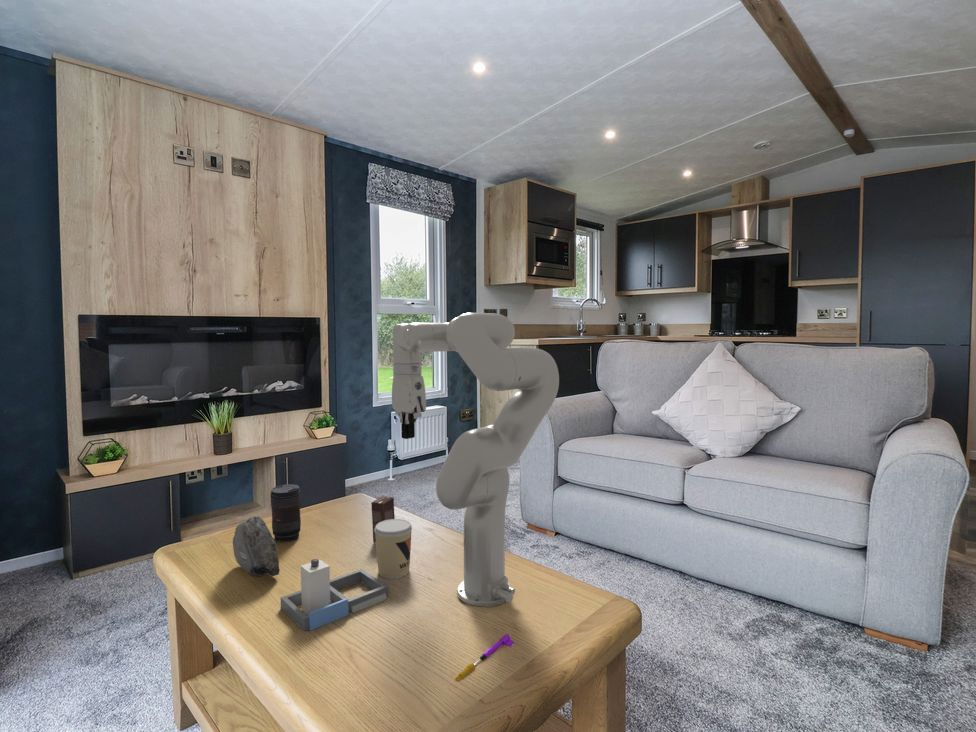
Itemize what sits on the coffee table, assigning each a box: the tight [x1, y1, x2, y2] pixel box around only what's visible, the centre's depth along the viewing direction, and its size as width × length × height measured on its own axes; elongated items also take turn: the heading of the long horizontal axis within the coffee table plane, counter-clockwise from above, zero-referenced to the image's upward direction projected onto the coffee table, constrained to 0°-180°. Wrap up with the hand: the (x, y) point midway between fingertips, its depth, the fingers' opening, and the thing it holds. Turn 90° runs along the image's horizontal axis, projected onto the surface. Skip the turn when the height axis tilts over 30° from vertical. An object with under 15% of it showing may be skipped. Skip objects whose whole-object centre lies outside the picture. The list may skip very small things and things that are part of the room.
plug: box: [300, 558, 331, 615], centre depth 114 cm, size 4×4×11 cm
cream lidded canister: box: [374, 518, 413, 579], centre depth 132 cm, size 9×9×12 cm
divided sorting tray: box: [280, 568, 390, 632], centre depth 117 cm, size 13×20×4 cm, turn 133°
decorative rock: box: [232, 515, 280, 577], centre depth 131 cm, size 16×7×15 cm, turn 44°
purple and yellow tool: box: [454, 633, 515, 682], centre depth 97 cm, size 3×1×16 cm
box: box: [370, 495, 396, 544], centre depth 152 cm, size 6×4×12 cm
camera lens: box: [270, 483, 302, 543], centre depth 154 cm, size 8×8×15 cm
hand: (408, 437), depth 141 cm, fingers closed
